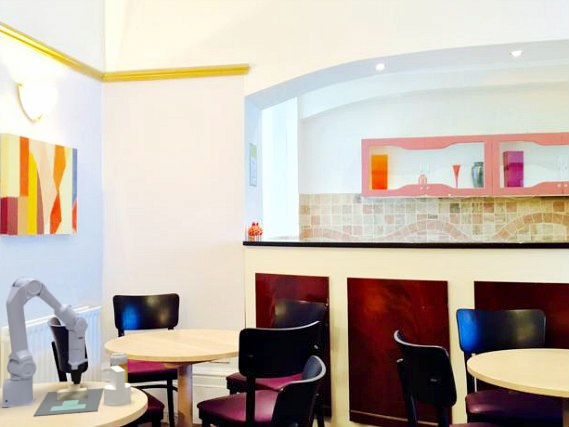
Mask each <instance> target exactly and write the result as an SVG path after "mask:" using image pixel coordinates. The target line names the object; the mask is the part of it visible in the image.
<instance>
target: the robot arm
mask: <svg viewBox="0 0 569 427" xmlns="http://www.w3.org/2000/svg"><path fill="white" fill-rule="evenodd" d="M35 297H37V298H40V299H41V300H42V301H43V302H44V303H45V304H47V305H48V306H49V307H50V308H52V309H53V315H54V316H55V317H56V318H57V319H58V320H59V321H61V322H62V323H63V325H64V326H65V329H66V330H68V362H67V363H68V364H69V365H68V370H69V371H70V374H71V378H72V383H73V384H81V381H82V380H81V379H82V374H83V372H84V368H85V366H86V364H85V362H87V363H88V362H89V358H86V356H85V355H86V349H85V348H86V345H85V342H86V340H85V338H86V336H85V335H86V331H87V330H88V327H89V324H88V322H87V320H86V319H85V318H84V317H80V313H78V312H77V311H75V310H74V309H73V308H72V305H71V304H69V303H66V302H65V303H61V301H60V300H59V299H58V298H57V297H56V295H54V293H52V292H51V291H50V289H49V288H48V287H47V286H46V284H44V283H43V282H41V280H40V279H38V278H35V277H33V278H30V277H24V276H22V277H18V278H16V279H15V280H14V281H13V282H11V284H10V290H9V293H8V296H7V298H6V301H5V307H6V314H7V315H6V316H7V323H8V331H9V333H8V334H9V339H10V340H9V341H10V350H11V352H10V353H9V355H8V361H7V365H6V371H7V372H8V374H10V376H9V378H5V379H4V380H3V383H2V405H1V407H2V408H10V407H19V406H22V407H23V406H31V405H33V403H34V402H35V400H36V397H33V395H34V394H33V393H34V392H33V391H34V390H33V386H34V384H33V382H34V381H33V380H34V379H33V377H34V376H35V374H36V371H37V364H36V362H35V361H34V358H33V355H32V353H31V352H30V350H29V344H28V337H27V336H28V334H27V328H26V327H27V326H26V319H25V318H26V317H25V308H24V307H25V305H26V304H27V303H28V302H29V301H30V300H31V299H33V298H35Z"/></svg>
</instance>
